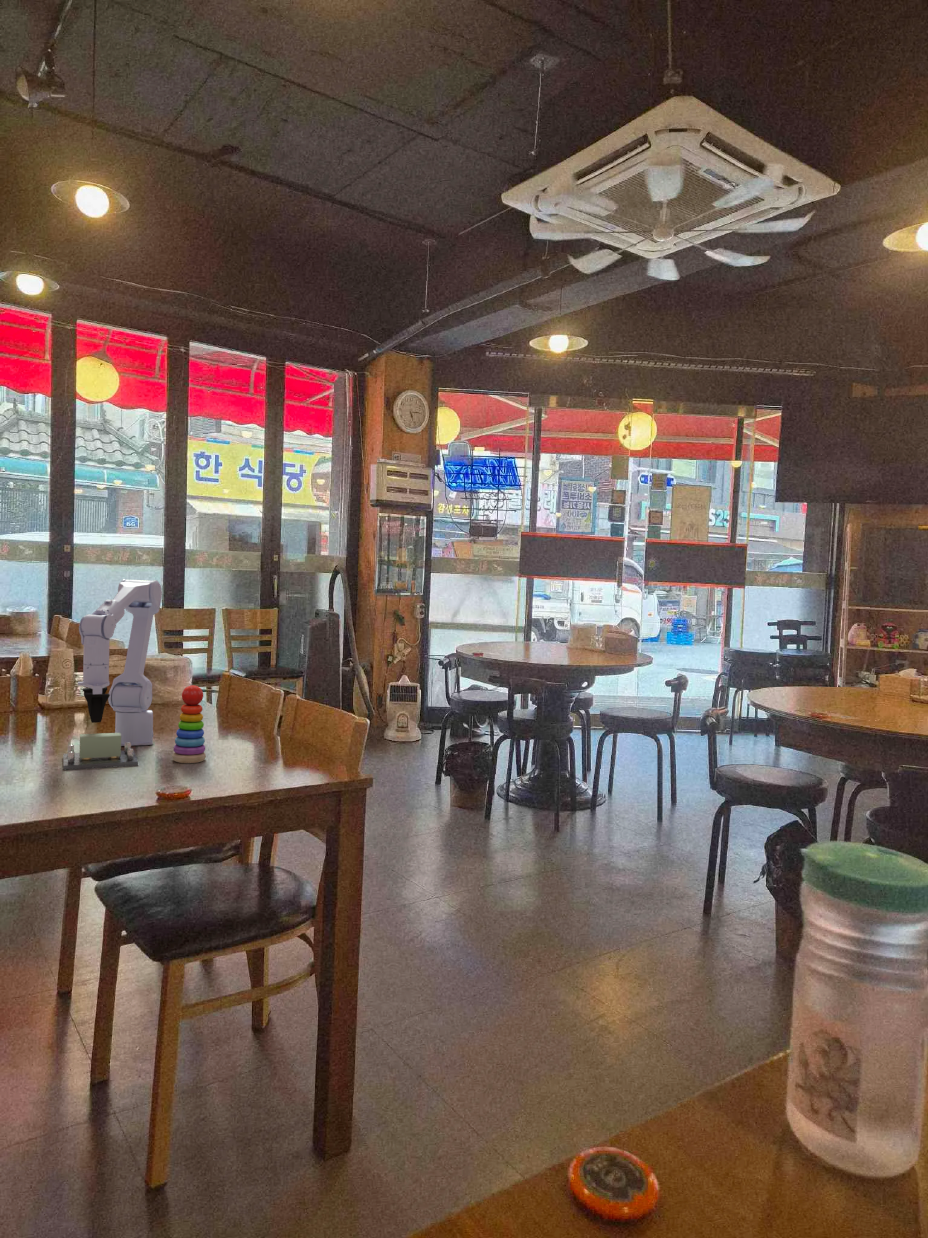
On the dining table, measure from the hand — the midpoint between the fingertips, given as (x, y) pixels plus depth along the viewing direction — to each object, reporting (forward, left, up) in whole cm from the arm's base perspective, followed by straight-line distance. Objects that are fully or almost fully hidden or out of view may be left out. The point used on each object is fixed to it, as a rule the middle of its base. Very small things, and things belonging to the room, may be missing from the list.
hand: (95, 719), depth 201 cm
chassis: (-1, +3, -10) cm, 10 cm away
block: (-1, +3, -8) cm, 9 cm away
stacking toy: (-21, +7, -10) cm, 24 cm away
